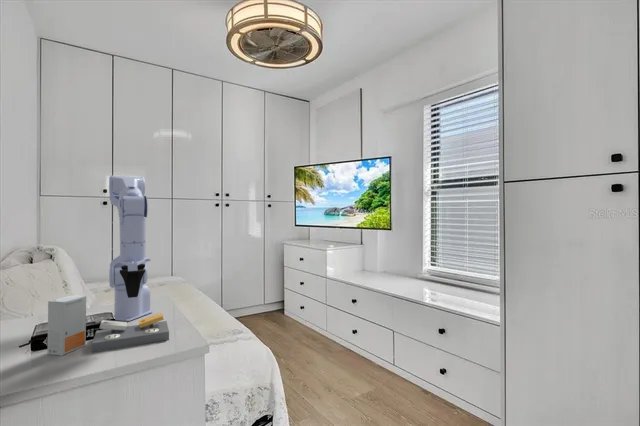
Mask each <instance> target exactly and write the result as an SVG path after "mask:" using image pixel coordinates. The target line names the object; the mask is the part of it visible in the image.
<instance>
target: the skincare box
mask: <svg viewBox="0 0 640 426" xmlns="http://www.w3.org/2000/svg"><path fill="white" fill-rule="evenodd" d="M47 303H48V304H47V355H53V356H65V355H66V354H69V353H71V352H74V351H76V350H79V349H81V348H83V346H84V347H86V339H87V338H86V337H87V336H86V335H87V334H86V330H87V296H86V295H77V294H76V295H75V294H71V295H68V296H61V297H59V298H56V299H52V300H48V302H47Z"/></svg>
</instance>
